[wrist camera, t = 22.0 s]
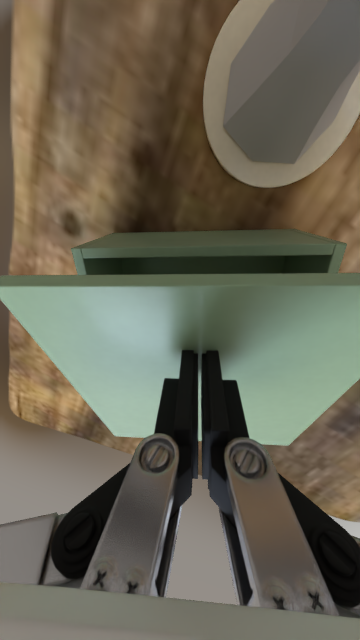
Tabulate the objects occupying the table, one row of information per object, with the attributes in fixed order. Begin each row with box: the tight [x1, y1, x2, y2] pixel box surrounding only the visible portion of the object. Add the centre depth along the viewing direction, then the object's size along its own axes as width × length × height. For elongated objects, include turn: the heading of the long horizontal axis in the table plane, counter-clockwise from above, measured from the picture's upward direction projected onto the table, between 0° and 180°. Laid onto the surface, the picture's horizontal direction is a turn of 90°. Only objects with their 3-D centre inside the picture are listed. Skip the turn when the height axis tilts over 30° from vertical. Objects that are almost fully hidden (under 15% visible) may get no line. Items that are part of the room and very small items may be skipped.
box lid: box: [0, 273, 360, 445], centre depth 13 cm, size 17×15×1 cm
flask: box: [223, 0, 360, 164], centre depth 9 cm, size 7×7×10 cm
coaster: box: [203, 0, 360, 188], centre depth 14 cm, size 10×10×1 cm
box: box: [71, 229, 347, 275], centre depth 19 cm, size 16×15×7 cm
